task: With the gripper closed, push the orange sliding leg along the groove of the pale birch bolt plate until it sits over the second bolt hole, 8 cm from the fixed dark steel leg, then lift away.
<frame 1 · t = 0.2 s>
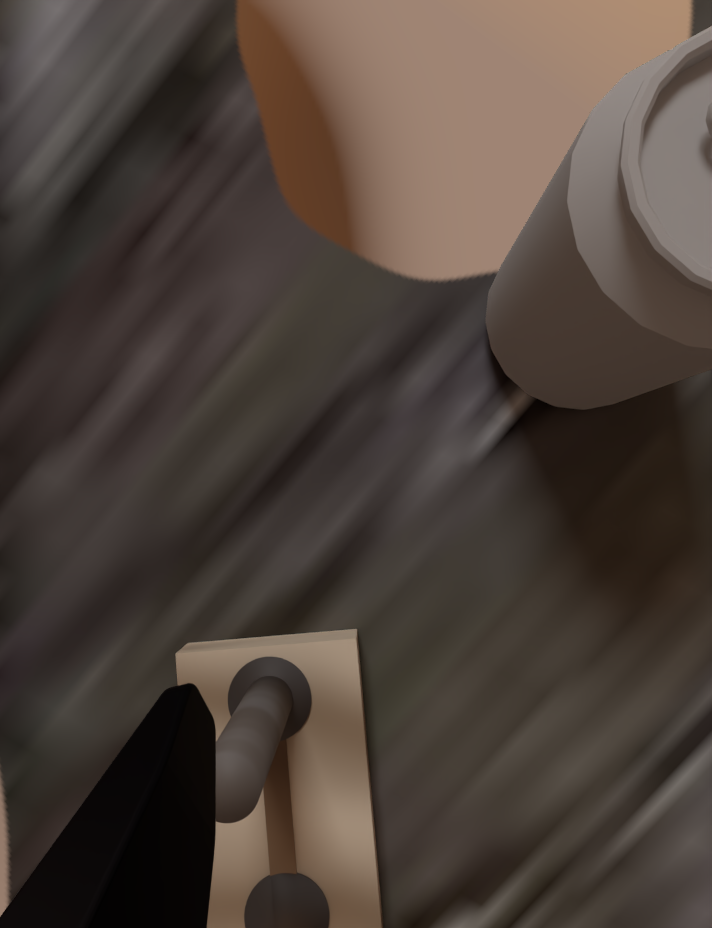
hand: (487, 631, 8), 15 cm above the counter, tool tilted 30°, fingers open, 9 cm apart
can: (569, 325, 24), on the counter
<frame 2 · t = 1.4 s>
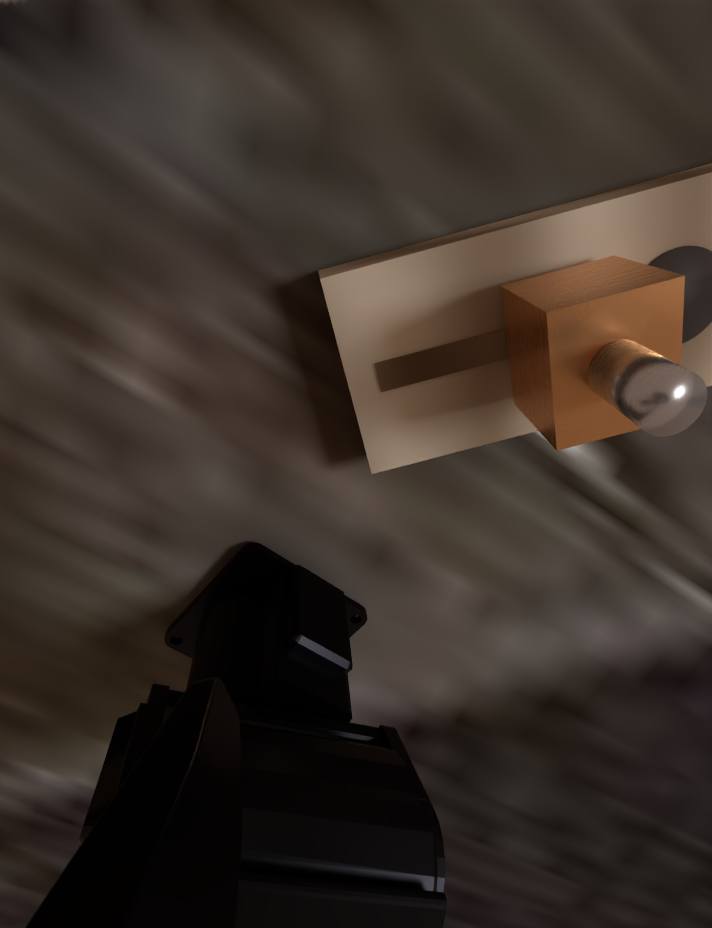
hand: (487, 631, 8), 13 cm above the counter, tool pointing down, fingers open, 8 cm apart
divider leg: (607, 363, 15), point 5 cm above the counter, slide at 2.0 cm
bolt plate: (482, 333, 20), on the counter
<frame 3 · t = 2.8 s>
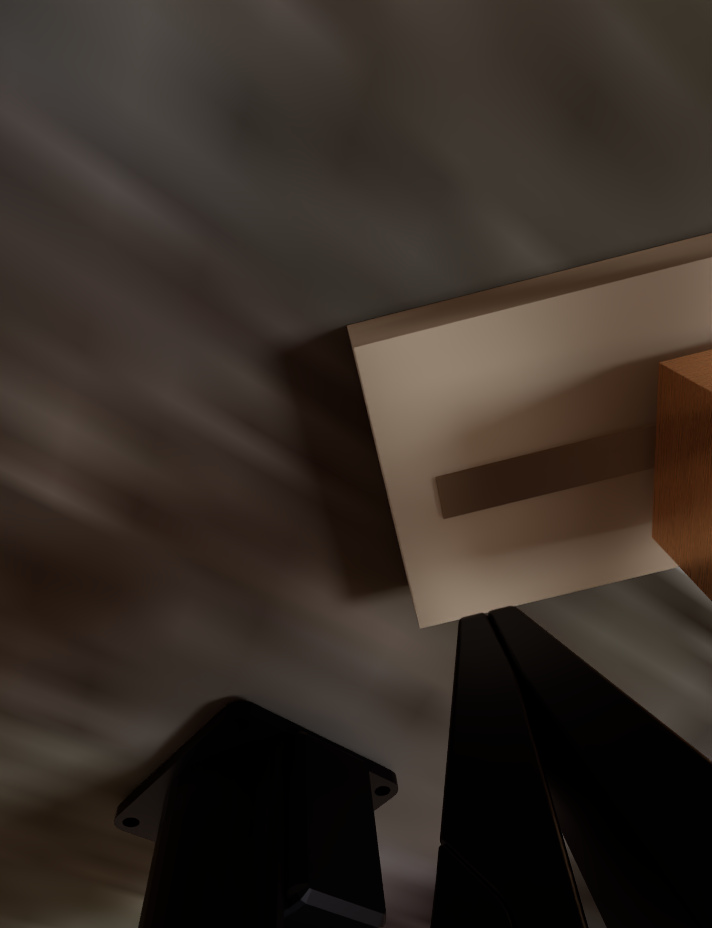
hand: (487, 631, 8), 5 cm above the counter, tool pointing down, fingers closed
bolt plate: (596, 420, 13), on the counter
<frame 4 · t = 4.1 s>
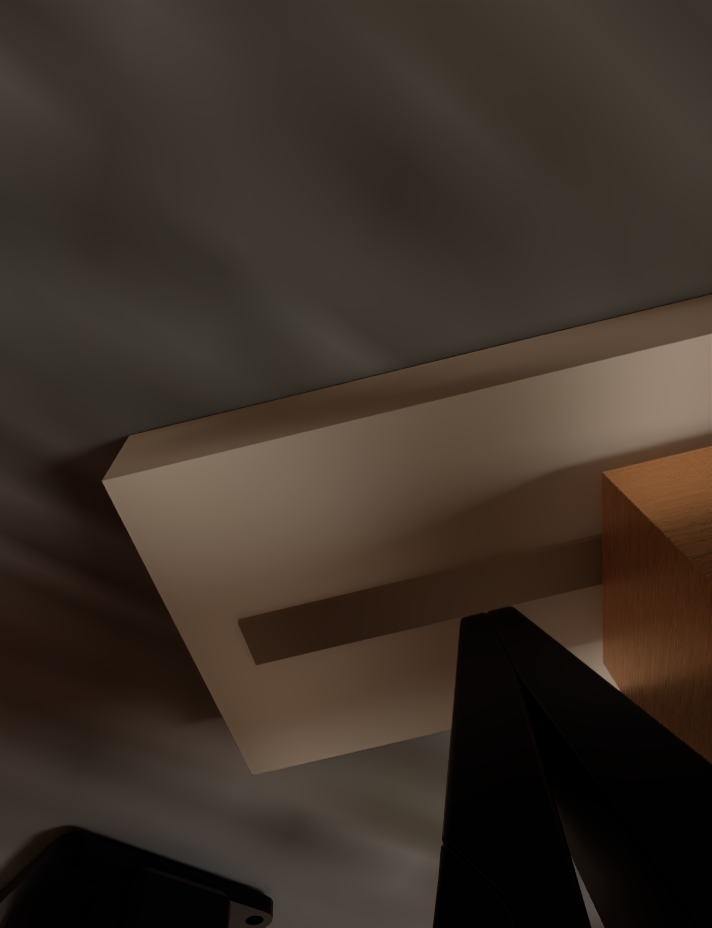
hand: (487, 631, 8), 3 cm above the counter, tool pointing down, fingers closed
bolt plate: (455, 534, 11), on the counter
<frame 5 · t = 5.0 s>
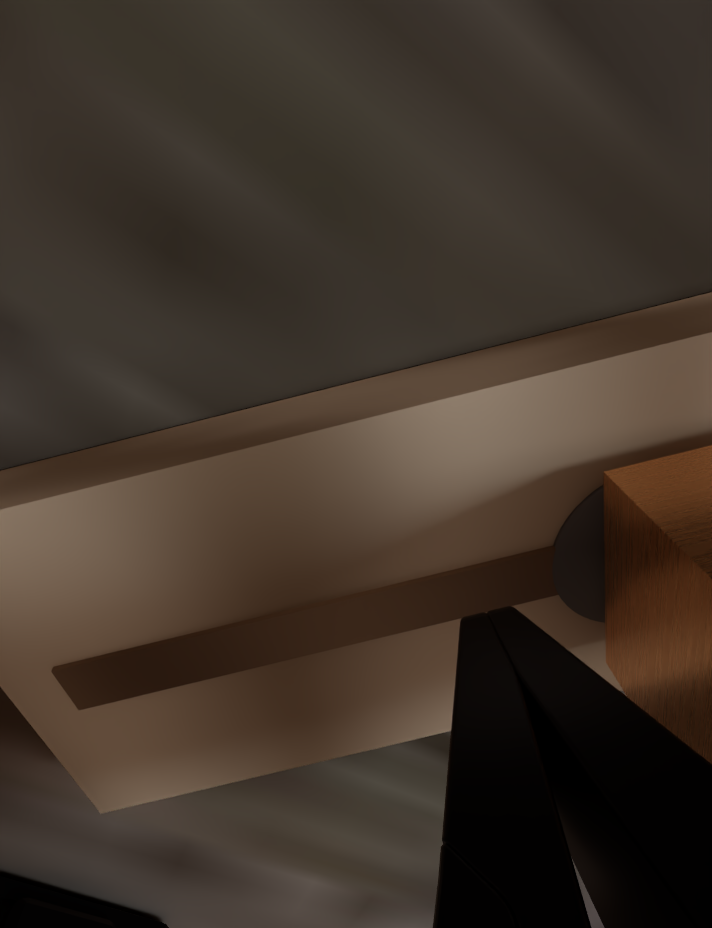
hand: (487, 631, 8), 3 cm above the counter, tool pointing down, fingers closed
bolt plate: (294, 574, 11), on the counter
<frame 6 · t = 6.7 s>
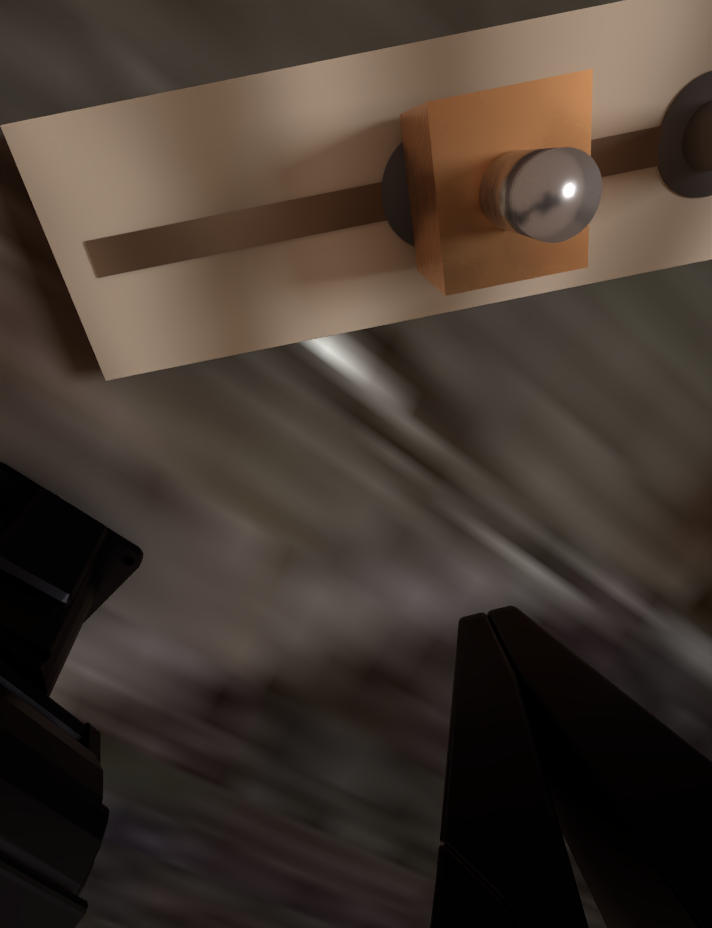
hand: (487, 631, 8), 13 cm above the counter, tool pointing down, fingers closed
divider leg: (506, 189, 13), point 5 cm above the counter, slide at 6.9 cm
bolt plate: (235, 226, 17), on the counter
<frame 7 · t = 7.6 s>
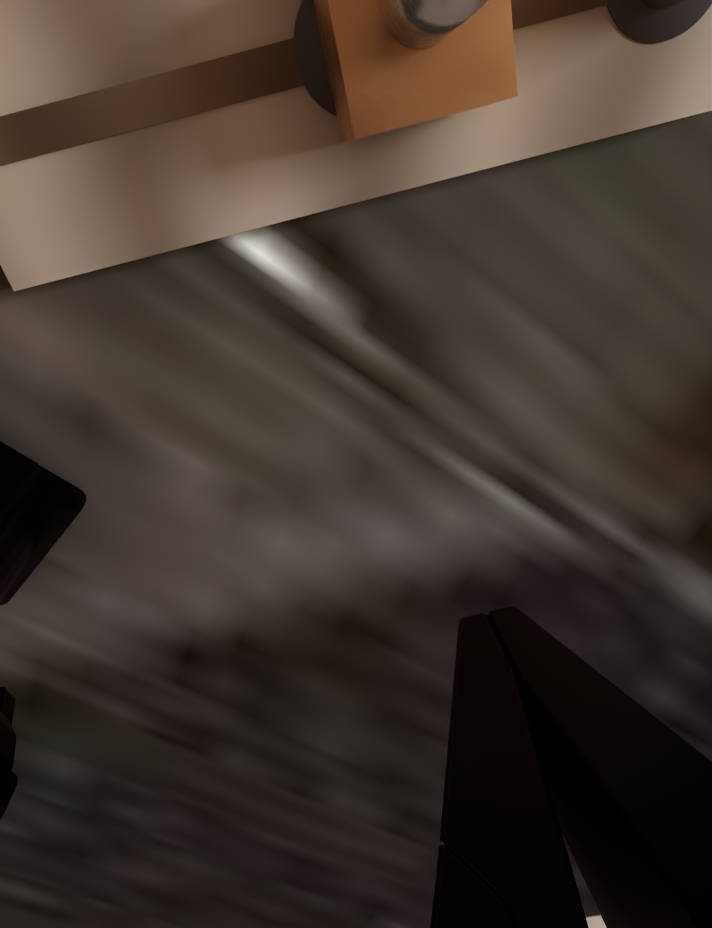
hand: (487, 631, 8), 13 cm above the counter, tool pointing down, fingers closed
divider leg: (415, 4, 11), point 5 cm above the counter, slide at 6.9 cm
bolt plate: (143, 112, 16), on the counter
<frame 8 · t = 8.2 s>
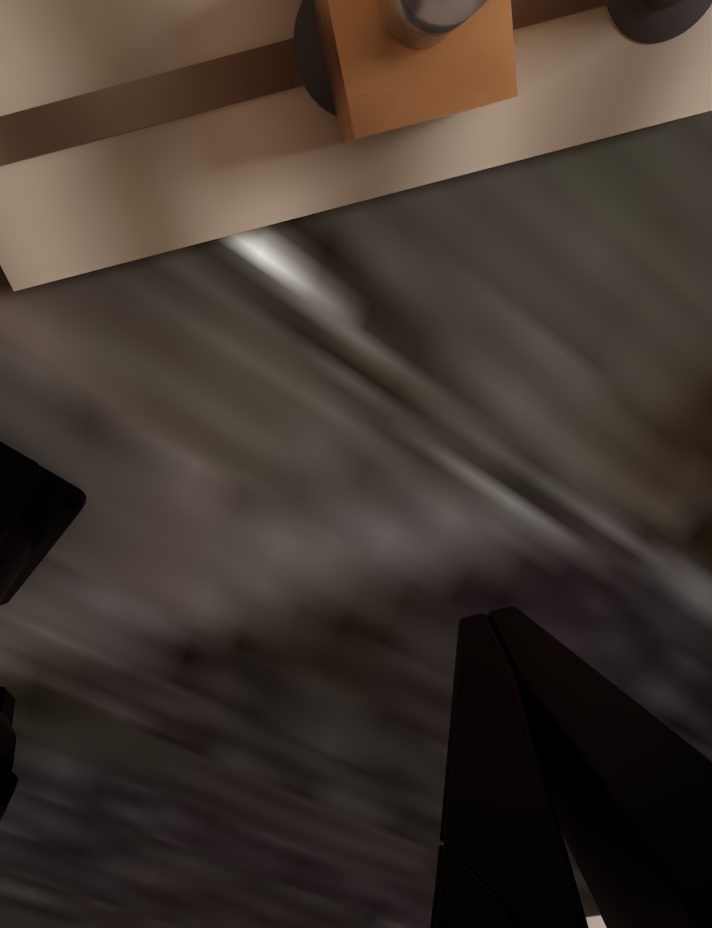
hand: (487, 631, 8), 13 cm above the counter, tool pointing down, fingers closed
divider leg: (415, 4, 11), point 5 cm above the counter, slide at 6.9 cm
bolt plate: (143, 112, 16), on the counter
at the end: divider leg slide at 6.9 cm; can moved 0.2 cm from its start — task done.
